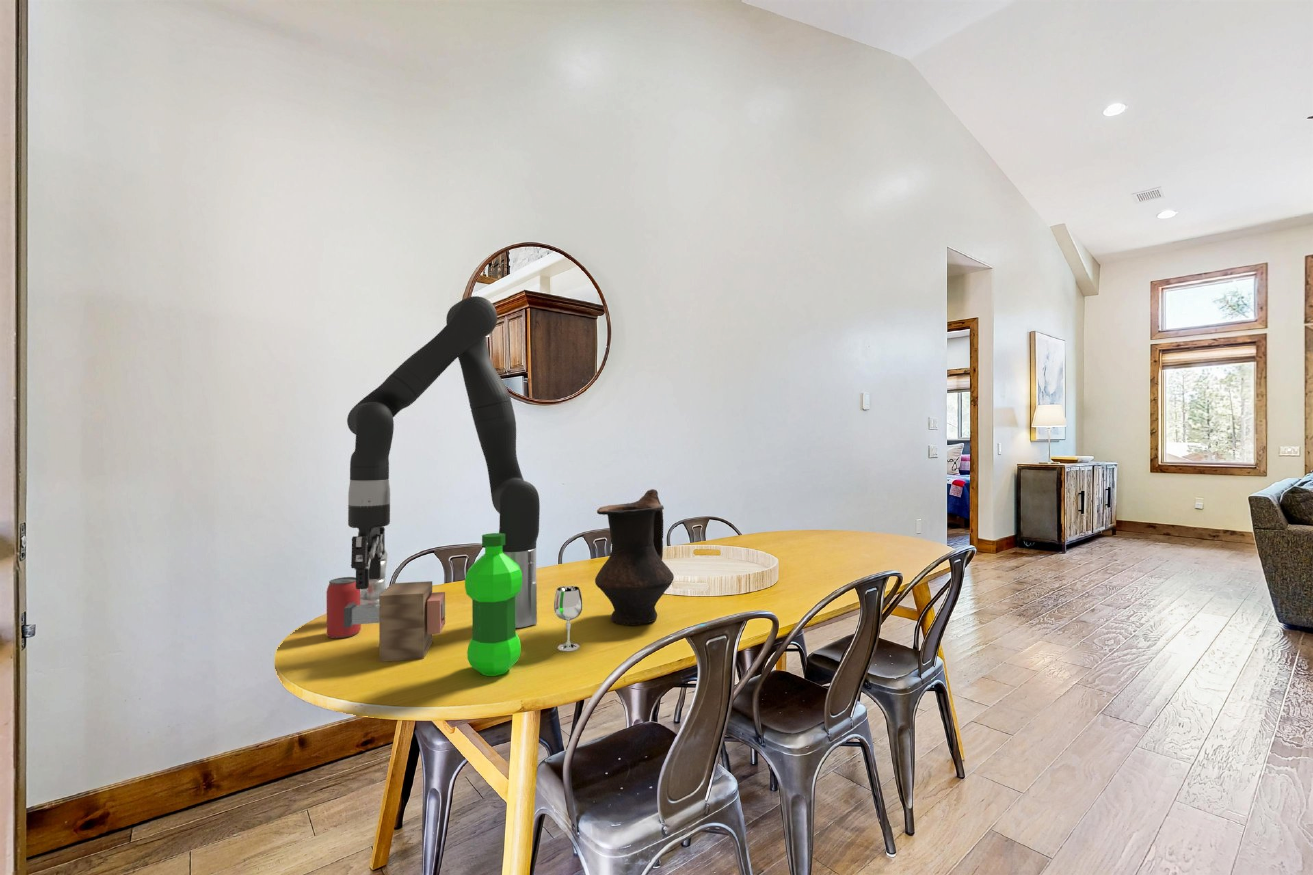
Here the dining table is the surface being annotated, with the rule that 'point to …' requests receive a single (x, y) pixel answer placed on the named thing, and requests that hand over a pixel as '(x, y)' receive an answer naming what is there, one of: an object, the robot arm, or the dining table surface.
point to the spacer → (435, 613)
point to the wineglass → (568, 610)
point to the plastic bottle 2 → (493, 608)
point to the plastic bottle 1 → (374, 586)
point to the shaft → (369, 613)
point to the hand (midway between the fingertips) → (368, 583)
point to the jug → (635, 560)
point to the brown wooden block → (404, 621)
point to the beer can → (341, 606)
